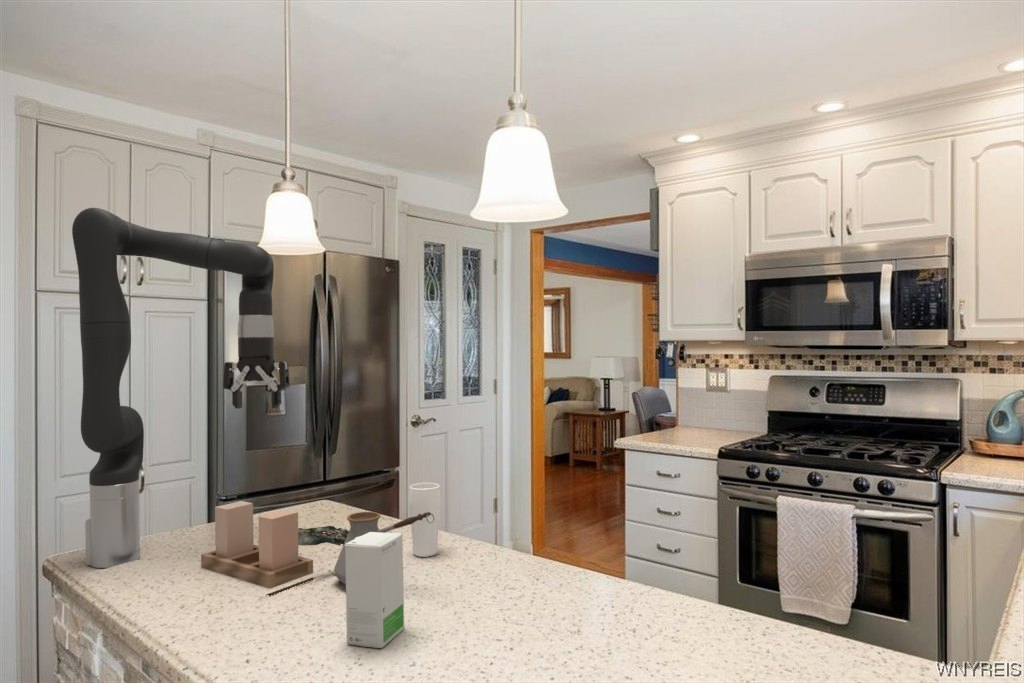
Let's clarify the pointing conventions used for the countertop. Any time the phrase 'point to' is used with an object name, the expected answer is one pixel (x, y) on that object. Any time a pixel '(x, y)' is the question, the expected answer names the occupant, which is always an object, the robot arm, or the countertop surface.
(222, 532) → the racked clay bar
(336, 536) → the decorative rock
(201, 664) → the countertop surface
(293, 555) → the clay bar
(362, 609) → the skincare box
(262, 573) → the wooden divided tray
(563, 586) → the countertop surface
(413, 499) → the drinking glass
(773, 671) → the countertop surface
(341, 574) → the coffee pot
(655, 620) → the countertop surface
